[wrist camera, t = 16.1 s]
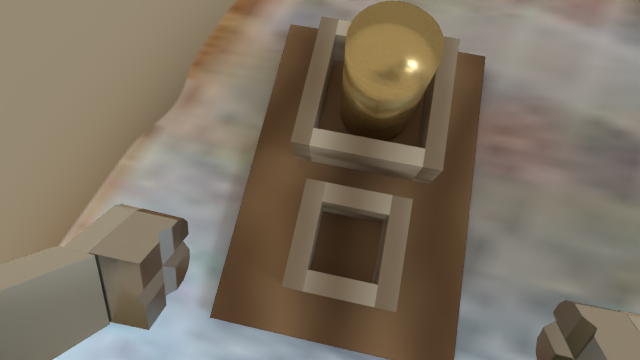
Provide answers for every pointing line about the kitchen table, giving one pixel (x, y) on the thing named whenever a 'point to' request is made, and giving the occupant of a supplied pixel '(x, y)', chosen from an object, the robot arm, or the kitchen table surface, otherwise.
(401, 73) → the gold metal cylinder
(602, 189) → the kitchen table surface
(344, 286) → the socket board
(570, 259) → the kitchen table surface
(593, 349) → the robot arm
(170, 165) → the kitchen table surface
